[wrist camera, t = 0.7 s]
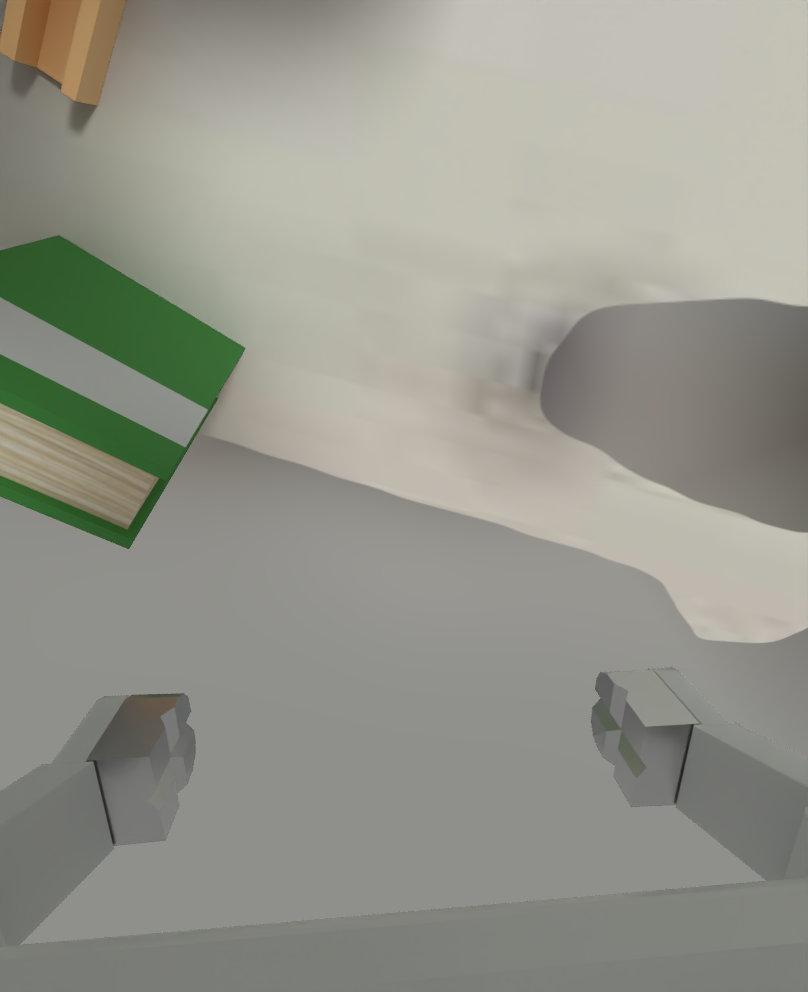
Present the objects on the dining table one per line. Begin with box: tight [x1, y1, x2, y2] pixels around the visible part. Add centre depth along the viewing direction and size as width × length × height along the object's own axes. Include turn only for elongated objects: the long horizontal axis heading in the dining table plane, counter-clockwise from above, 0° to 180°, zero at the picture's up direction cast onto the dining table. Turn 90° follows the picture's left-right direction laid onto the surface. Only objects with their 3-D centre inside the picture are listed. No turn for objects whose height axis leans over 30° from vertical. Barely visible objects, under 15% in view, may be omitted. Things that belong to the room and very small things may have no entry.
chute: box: [0, 0, 126, 106], centre depth 36 cm, size 8×5×4 cm, turn 147°
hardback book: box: [0, 236, 245, 549], centre depth 39 cm, size 18×7×24 cm, turn 54°
